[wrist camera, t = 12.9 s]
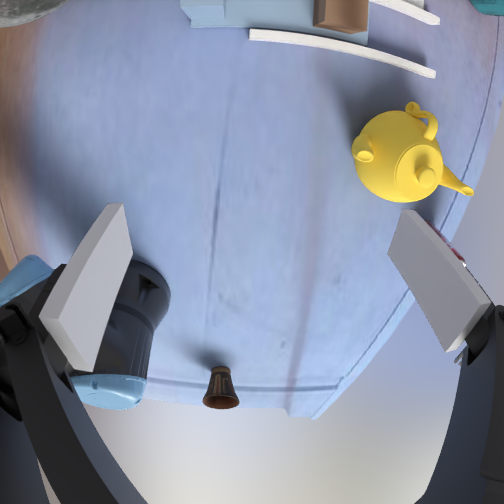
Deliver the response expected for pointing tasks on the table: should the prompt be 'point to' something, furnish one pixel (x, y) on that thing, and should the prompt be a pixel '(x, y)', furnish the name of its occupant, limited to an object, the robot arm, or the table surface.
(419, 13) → the lane bed
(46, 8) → the decorative sphere
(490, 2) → the beverage bottle
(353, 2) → the walnut block
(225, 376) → the cup
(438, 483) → the robot arm
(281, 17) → the pale blue stepped slab
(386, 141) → the teapot
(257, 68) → the table surface
